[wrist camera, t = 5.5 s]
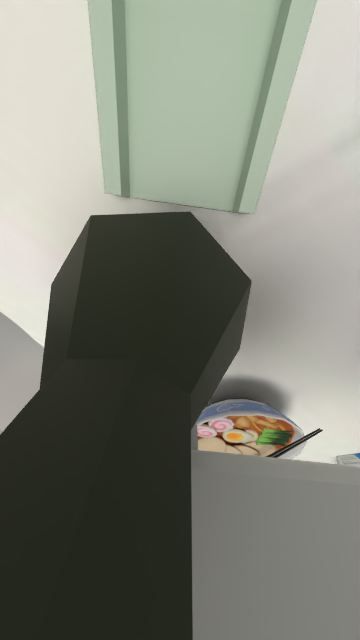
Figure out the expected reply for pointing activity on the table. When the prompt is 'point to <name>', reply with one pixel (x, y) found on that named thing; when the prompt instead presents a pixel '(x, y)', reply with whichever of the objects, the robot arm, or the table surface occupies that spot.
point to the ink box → (349, 460)
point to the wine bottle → (116, 433)
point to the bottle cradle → (193, 95)
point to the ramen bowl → (249, 430)
